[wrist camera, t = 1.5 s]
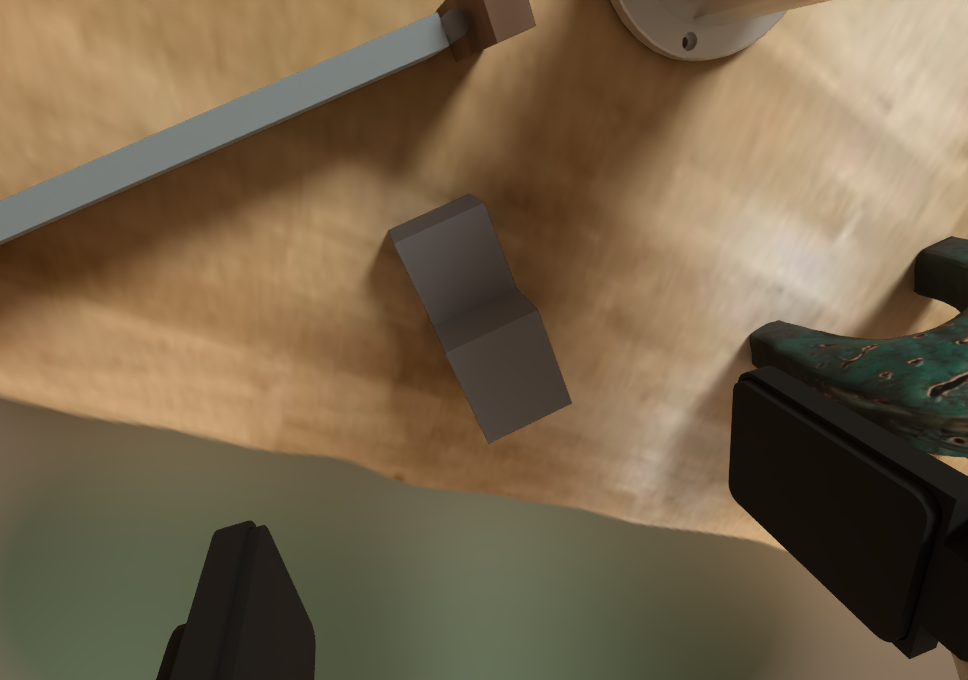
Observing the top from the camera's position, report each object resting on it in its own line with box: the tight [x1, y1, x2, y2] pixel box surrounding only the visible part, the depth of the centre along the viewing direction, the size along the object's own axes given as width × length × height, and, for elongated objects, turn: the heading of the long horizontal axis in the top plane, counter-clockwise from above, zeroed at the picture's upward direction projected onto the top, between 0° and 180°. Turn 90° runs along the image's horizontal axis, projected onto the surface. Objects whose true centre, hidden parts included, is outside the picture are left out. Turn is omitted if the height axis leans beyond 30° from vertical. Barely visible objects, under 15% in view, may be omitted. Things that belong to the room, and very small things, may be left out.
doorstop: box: [388, 194, 572, 444], centre depth 29 cm, size 5×11×7 cm, turn 21°
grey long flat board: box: [0, 8, 469, 245], centre depth 22 cm, size 26×1×6 cm, turn 111°
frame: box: [437, 0, 536, 61], centre depth 21 cm, size 30×2×8 cm, turn 111°
